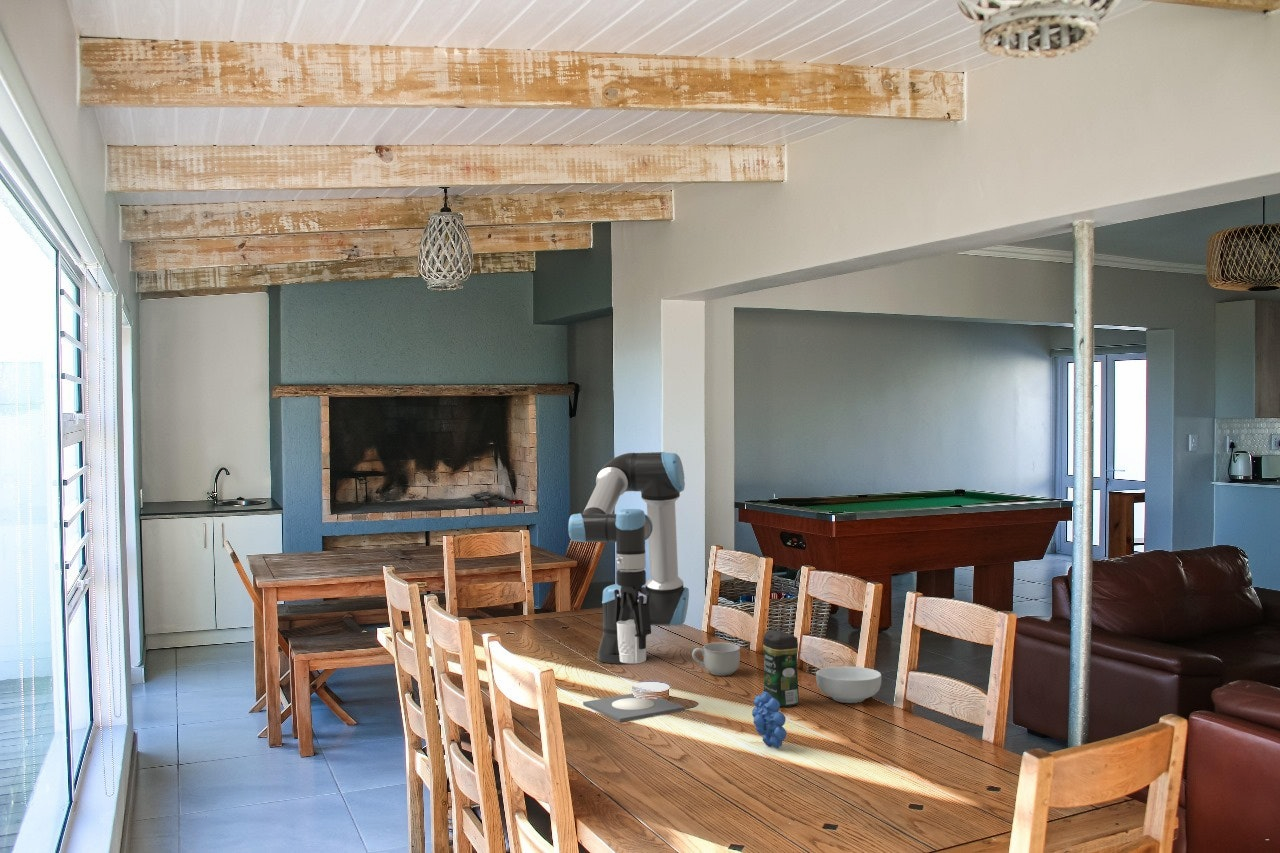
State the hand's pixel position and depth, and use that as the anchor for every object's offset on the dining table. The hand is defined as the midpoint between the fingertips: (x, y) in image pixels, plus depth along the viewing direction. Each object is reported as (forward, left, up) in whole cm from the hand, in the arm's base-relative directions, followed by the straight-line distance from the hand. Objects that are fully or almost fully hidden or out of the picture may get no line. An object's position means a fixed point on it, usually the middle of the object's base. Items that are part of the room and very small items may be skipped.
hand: (632, 658), depth 278 cm
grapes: (+45, +8, -13) cm, 47 cm away
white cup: (0, 0, -1) cm, 1 cm away
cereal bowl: (+25, +51, -13) cm, 58 cm away
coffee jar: (+18, +34, -13) cm, 41 cm away
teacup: (-18, +39, -13) cm, 45 cm away
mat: (0, 0, -13) cm, 13 cm away
